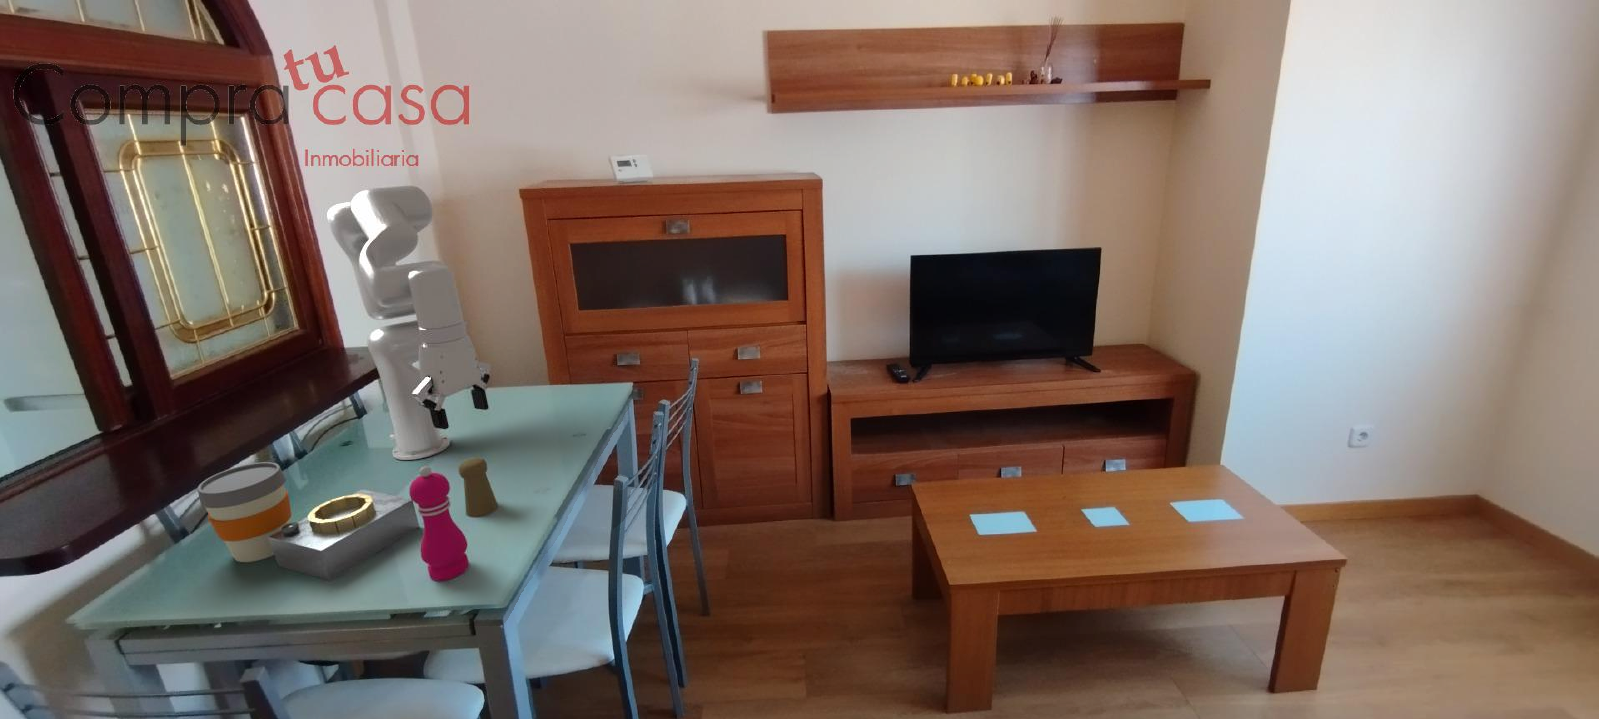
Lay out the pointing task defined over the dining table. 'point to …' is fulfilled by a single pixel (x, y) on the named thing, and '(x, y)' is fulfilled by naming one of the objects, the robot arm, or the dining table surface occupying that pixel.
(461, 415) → the dining table surface
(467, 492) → the cork
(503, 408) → the dining table surface
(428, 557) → the pepper mill
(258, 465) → the reusable coffee cup
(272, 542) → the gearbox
